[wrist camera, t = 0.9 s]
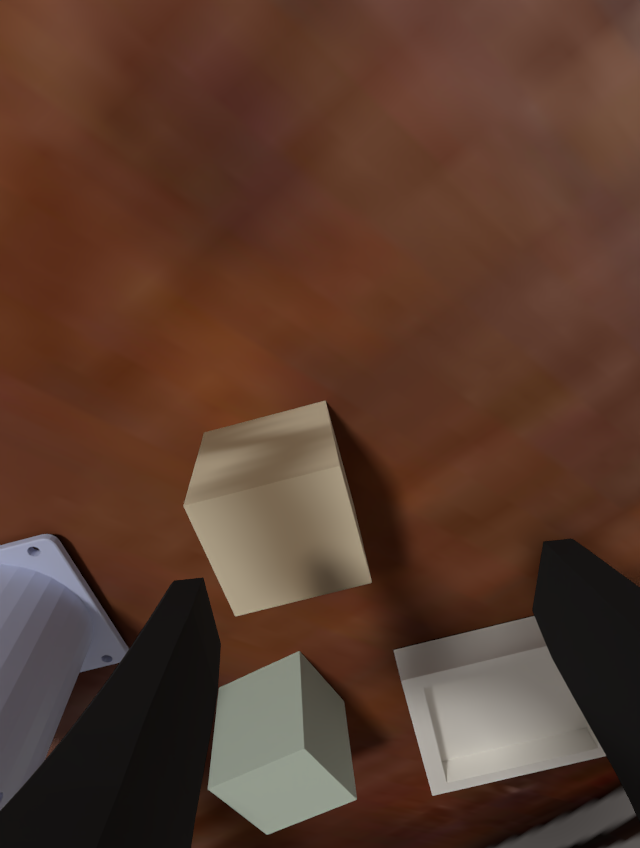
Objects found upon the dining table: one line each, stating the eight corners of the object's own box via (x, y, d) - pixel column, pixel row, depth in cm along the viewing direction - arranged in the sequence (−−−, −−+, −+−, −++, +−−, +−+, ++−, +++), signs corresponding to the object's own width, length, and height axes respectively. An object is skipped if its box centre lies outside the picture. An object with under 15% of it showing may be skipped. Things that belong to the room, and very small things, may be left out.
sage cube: (268, 732, 29) (267, 834, 24) (219, 686, 27) (207, 789, 22) (344, 700, 28) (356, 799, 23) (299, 649, 26) (304, 748, 21)
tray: (424, 763, 31) (432, 795, 30) (393, 650, 26) (401, 680, 25) (597, 723, 31) (614, 754, 29) (598, 600, 26) (620, 628, 24)
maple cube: (243, 527, 22) (235, 616, 18) (204, 431, 20) (183, 506, 15) (352, 499, 22) (372, 582, 17) (325, 399, 20) (339, 465, 15)
